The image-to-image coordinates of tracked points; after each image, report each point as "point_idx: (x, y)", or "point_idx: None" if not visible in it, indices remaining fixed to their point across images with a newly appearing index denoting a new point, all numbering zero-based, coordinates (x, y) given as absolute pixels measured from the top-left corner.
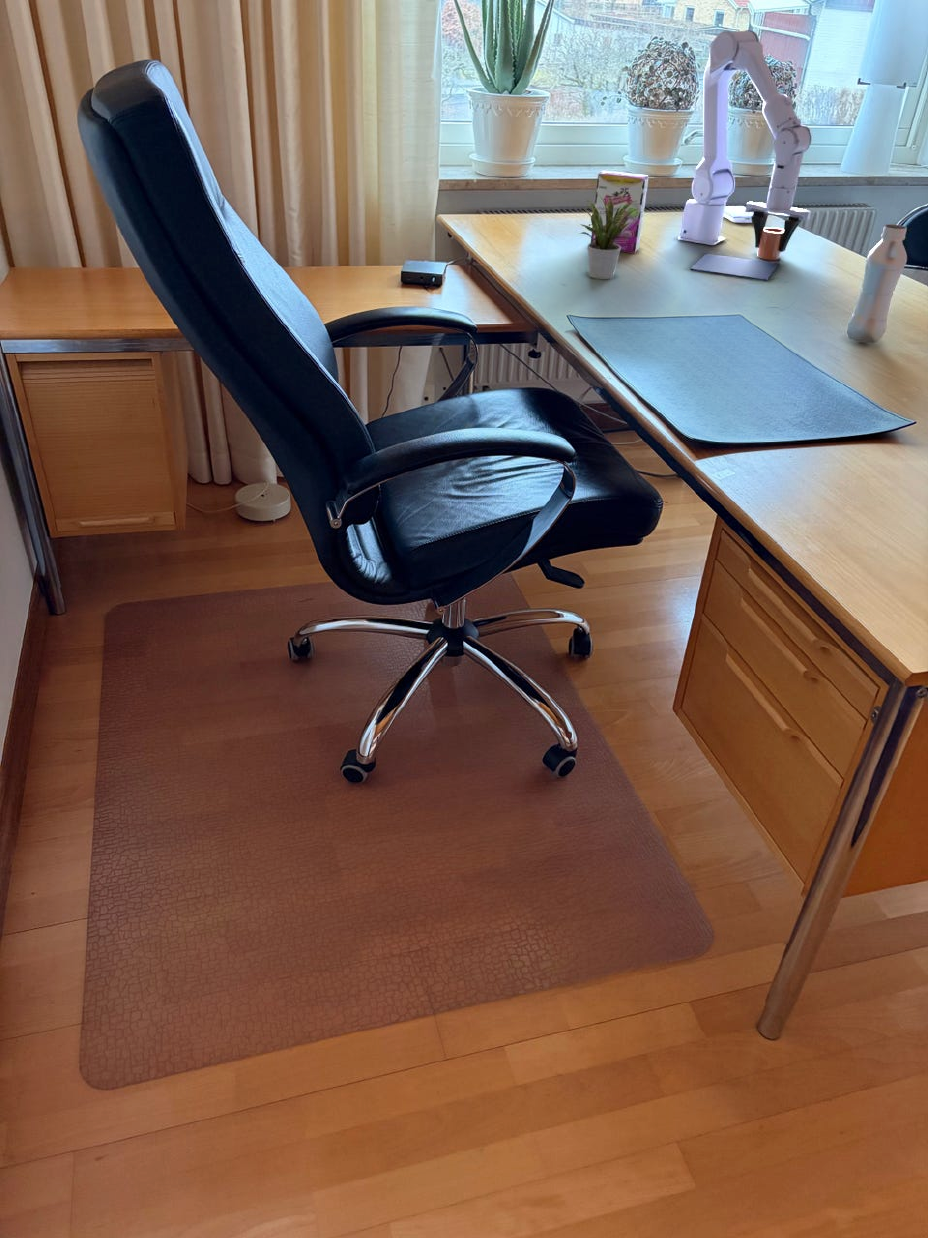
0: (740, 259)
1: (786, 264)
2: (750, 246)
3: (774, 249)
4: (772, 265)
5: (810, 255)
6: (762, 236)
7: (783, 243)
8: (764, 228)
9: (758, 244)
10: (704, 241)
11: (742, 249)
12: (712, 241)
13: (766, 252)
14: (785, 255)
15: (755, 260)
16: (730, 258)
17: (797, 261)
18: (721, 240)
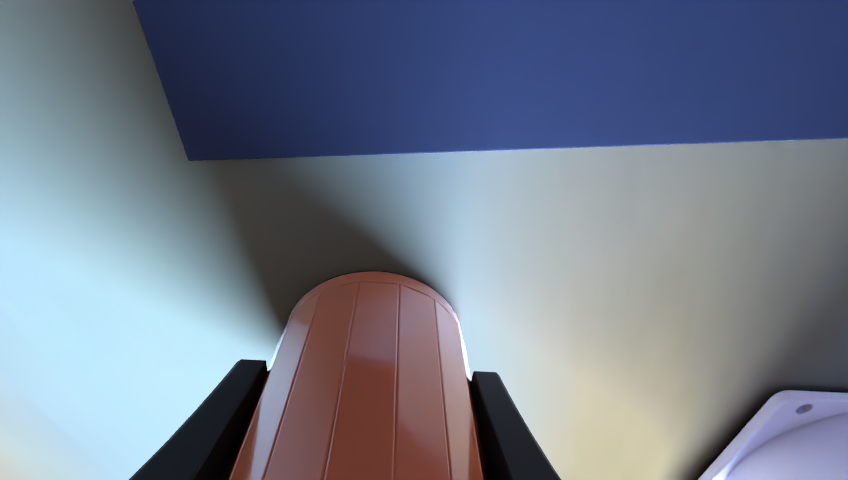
0: (590, 93)
1: (152, 213)
2: None
3: (297, 344)
4: (201, 27)
5: None
6: (460, 456)
7: (197, 419)
8: None
9: (477, 394)
10: (844, 412)
11: (574, 407)
12: (784, 431)
13: (371, 306)
14: None
15: (434, 144)
16: (702, 72)
17: (143, 338)
18: (708, 474)
